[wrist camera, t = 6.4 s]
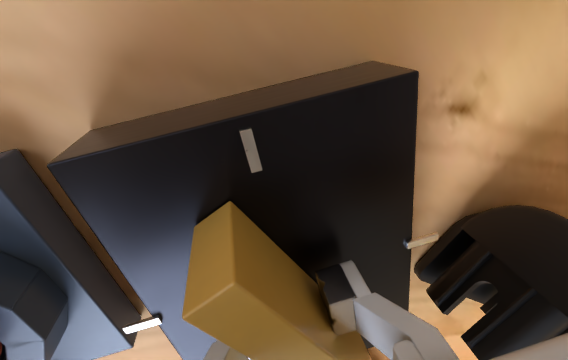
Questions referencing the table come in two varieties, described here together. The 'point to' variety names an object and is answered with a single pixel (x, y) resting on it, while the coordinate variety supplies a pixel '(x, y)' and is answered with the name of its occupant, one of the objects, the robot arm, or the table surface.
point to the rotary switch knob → (258, 295)
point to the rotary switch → (257, 184)
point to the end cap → (503, 276)
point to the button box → (52, 278)
